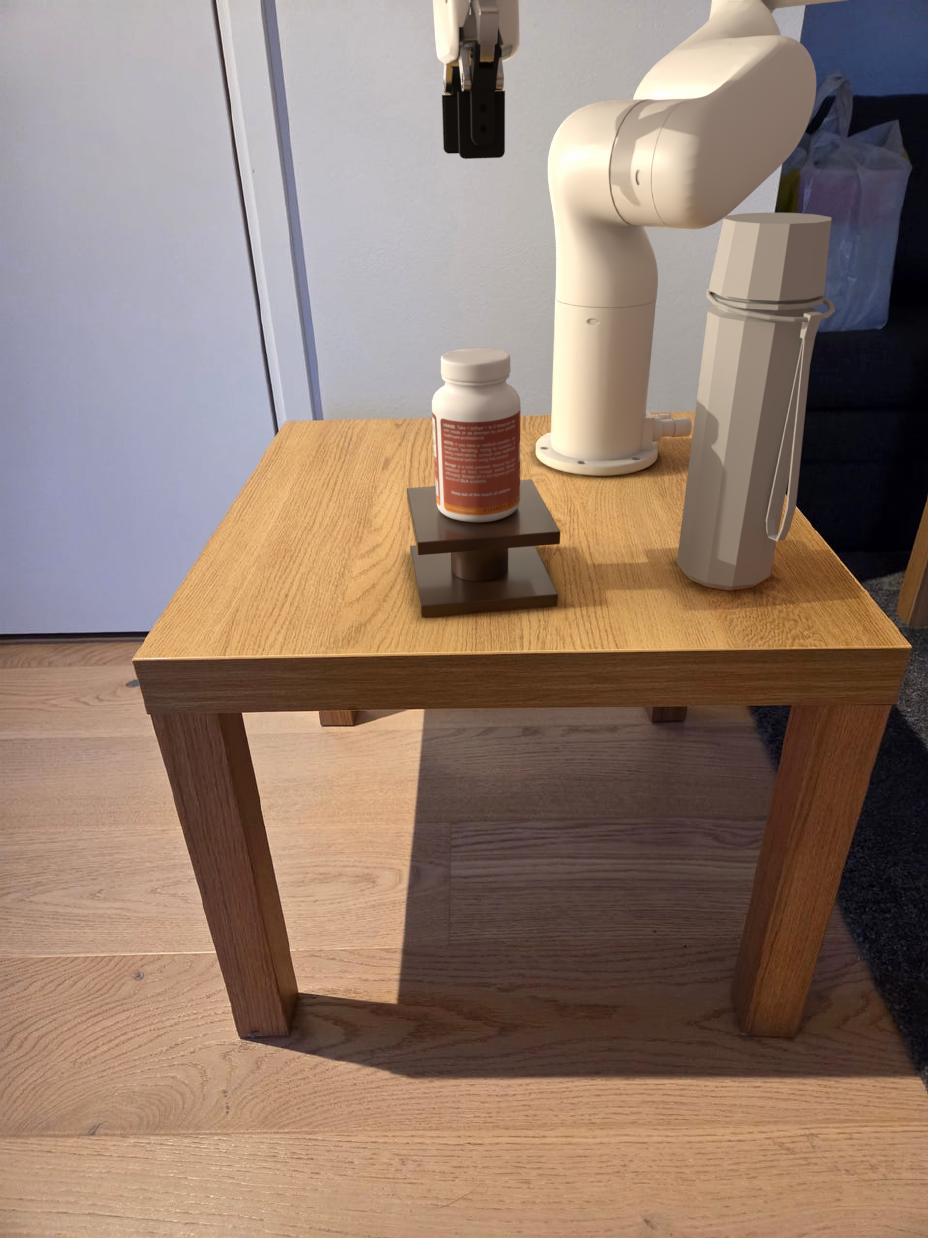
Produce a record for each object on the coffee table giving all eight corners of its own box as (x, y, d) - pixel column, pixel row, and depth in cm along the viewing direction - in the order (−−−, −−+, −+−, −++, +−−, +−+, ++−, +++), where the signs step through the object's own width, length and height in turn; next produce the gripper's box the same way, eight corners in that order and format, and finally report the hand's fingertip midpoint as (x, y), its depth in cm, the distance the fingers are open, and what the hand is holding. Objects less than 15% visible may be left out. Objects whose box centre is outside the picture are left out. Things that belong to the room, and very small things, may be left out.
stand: (530, 546, 70) (531, 478, 67) (557, 606, 62) (560, 531, 58) (410, 556, 69) (406, 487, 66) (421, 618, 60) (417, 542, 57)
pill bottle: (537, 511, 61) (540, 356, 56) (466, 533, 59) (463, 371, 53) (488, 485, 66) (487, 340, 60) (420, 504, 63) (412, 353, 57)
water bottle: (652, 564, 67) (689, 216, 54) (731, 544, 70) (784, 208, 57) (729, 617, 60) (793, 230, 47) (814, 592, 62) (896, 221, 50)
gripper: (553, -185, 48) (545, 158, 57) (501, -114, 63) (501, 149, 71) (422, -186, 47) (434, 162, 56) (401, -114, 62) (413, 152, 71)
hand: (472, 154), depth 64 cm, fingers open, 9 cm apart
